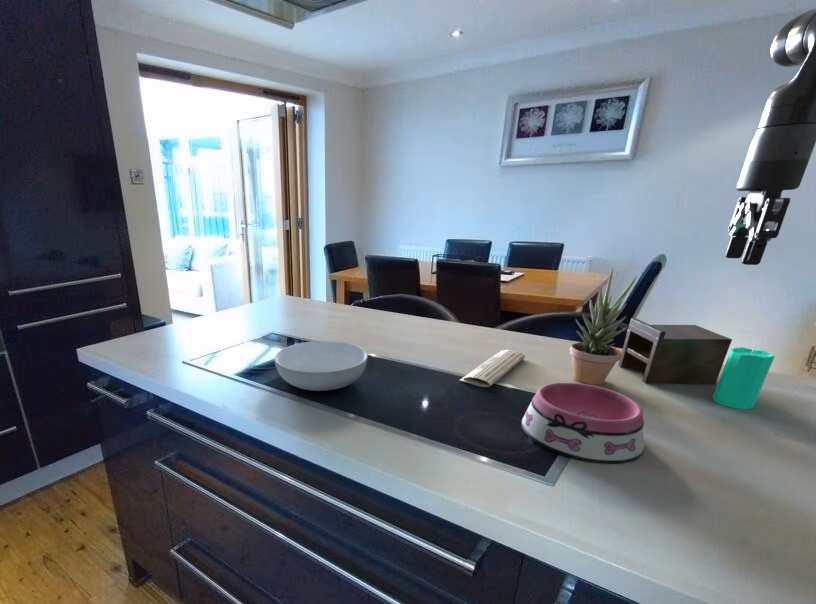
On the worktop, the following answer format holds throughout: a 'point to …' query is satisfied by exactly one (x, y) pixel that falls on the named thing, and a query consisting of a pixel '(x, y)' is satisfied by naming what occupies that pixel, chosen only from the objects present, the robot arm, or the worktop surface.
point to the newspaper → (493, 368)
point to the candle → (742, 377)
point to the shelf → (674, 353)
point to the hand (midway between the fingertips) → (740, 261)
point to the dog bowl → (585, 423)
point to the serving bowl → (321, 364)
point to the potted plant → (598, 340)
